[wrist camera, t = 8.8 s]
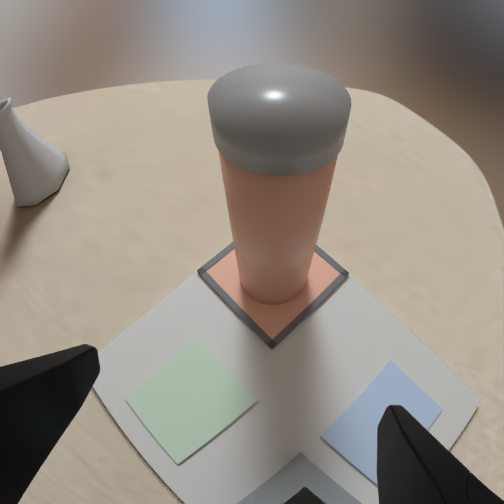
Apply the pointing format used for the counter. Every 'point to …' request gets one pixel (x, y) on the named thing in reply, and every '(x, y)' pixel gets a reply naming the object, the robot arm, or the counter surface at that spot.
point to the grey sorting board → (273, 388)
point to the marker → (277, 168)
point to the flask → (29, 159)
